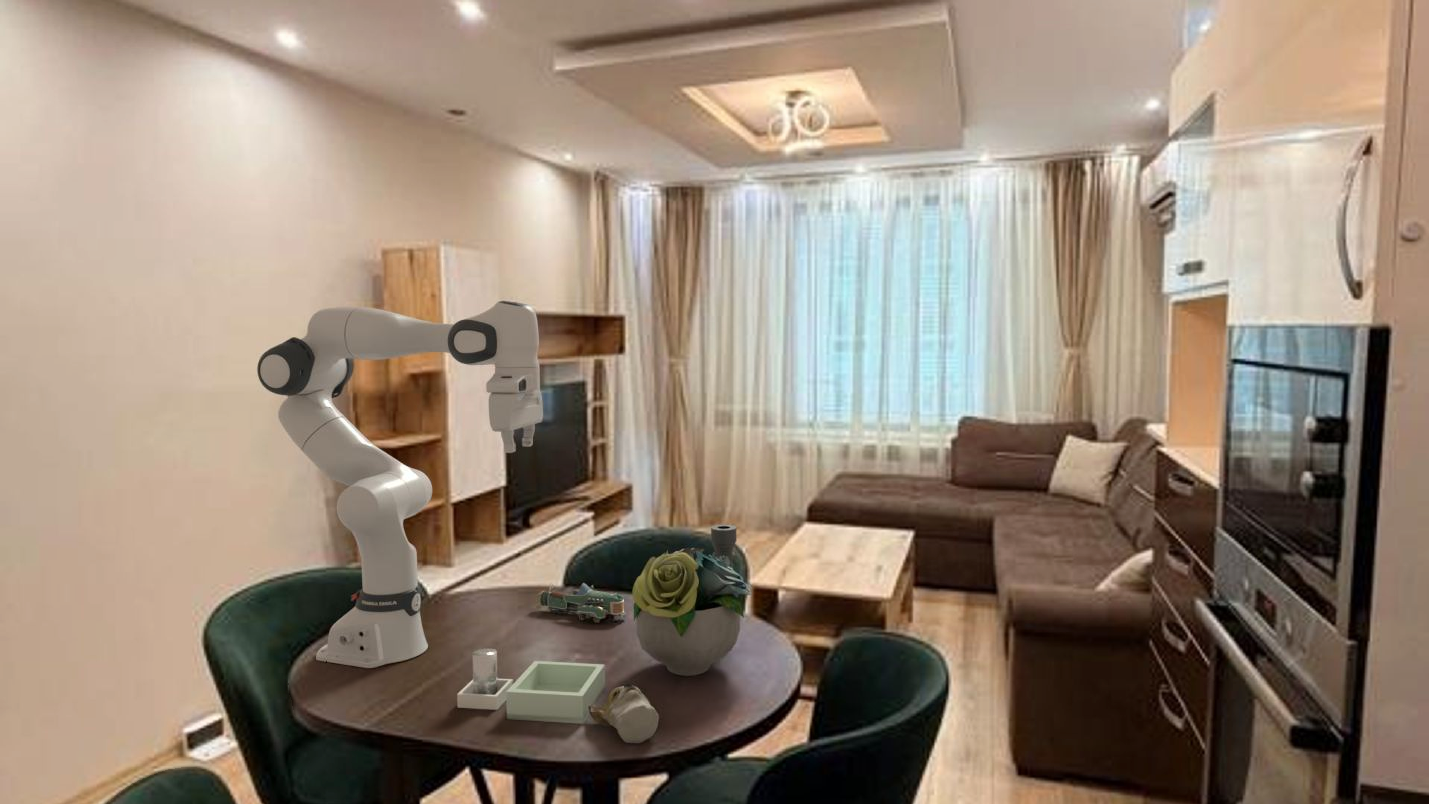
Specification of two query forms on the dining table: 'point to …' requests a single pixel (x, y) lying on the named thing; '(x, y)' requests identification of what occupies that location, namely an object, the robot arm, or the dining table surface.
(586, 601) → the green metal elongated vehicle
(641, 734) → the ceramic sculpture
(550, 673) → the tray
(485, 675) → the clear glass cylinder
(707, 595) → the flower arrangement
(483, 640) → the dining table surface
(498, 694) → the socket collar
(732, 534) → the candle holder
